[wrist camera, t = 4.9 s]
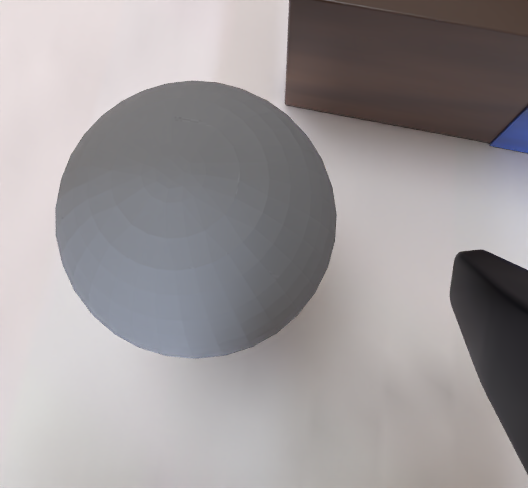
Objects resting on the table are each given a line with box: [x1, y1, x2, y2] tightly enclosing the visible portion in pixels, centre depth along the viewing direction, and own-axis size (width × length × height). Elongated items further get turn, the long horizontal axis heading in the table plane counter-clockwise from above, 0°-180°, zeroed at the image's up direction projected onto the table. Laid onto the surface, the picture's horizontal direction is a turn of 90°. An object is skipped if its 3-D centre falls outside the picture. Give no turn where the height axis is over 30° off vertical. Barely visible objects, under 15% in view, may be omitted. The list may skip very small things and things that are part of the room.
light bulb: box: [56, 81, 336, 358], centre depth 13 cm, size 6×6×10 cm
